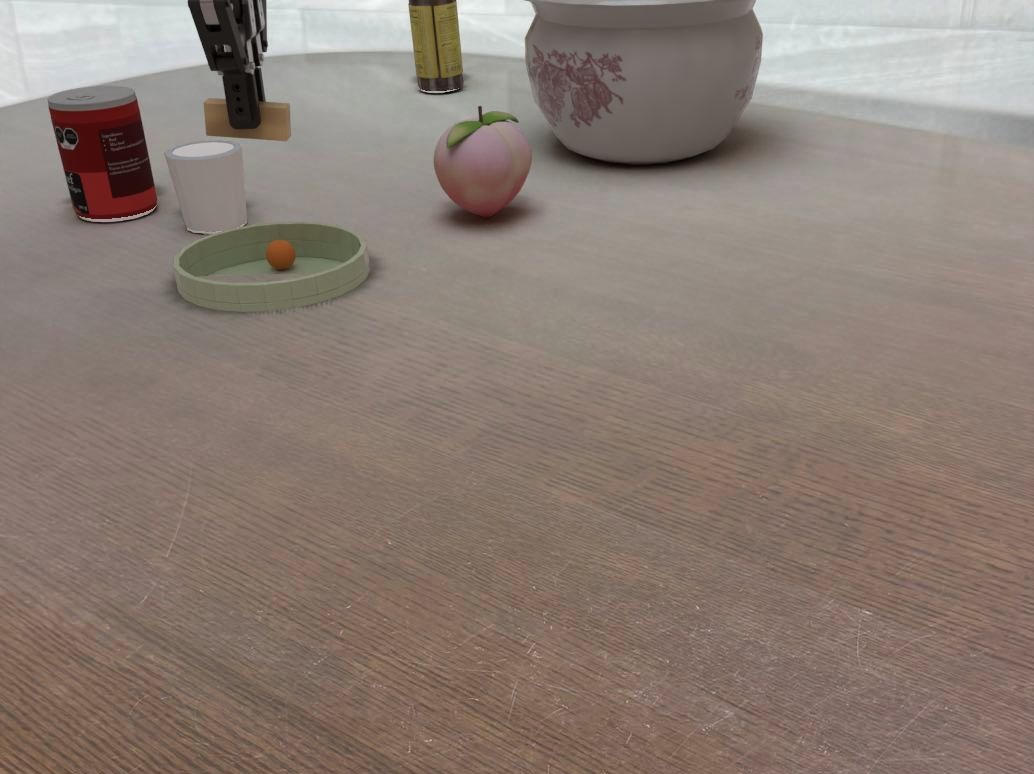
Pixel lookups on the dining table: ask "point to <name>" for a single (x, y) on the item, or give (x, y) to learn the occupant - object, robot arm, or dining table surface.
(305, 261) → the bowl
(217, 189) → the white cup
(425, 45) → the sauce bottle
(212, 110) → the block
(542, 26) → the chamber pot
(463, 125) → the decorative fruit
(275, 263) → the ball
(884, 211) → the dining table surface
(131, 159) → the canned food
